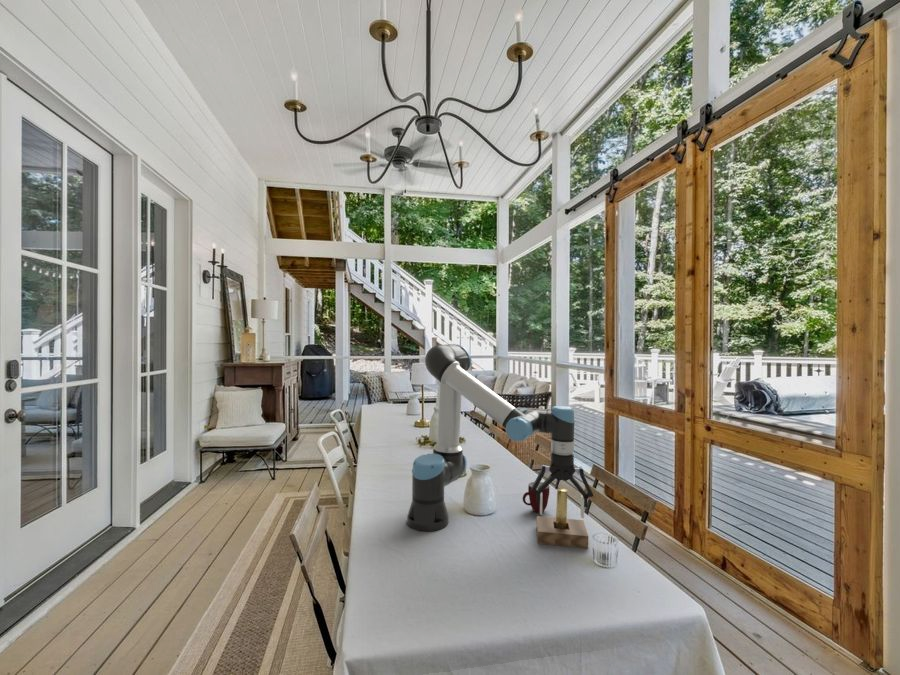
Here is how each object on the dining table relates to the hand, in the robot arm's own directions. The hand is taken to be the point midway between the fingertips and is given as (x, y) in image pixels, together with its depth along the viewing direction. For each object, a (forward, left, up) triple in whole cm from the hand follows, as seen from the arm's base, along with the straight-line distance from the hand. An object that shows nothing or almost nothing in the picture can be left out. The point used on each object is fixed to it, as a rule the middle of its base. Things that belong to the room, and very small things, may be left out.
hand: (561, 514), depth 143 cm
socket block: (0, 0, -8) cm, 8 cm away
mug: (-8, +20, -8) cm, 23 cm away
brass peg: (0, 0, -8) cm, 8 cm away
